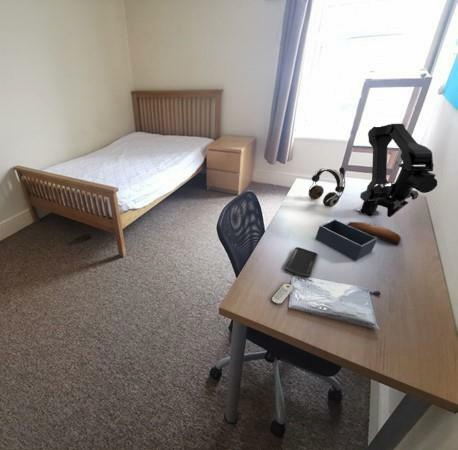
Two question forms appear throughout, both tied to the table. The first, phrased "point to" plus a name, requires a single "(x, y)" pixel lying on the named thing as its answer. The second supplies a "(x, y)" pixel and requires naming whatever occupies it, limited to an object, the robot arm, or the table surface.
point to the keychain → (282, 294)
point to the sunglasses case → (376, 231)
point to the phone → (301, 262)
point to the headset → (318, 190)
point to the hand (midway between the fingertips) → (388, 216)
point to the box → (346, 239)
